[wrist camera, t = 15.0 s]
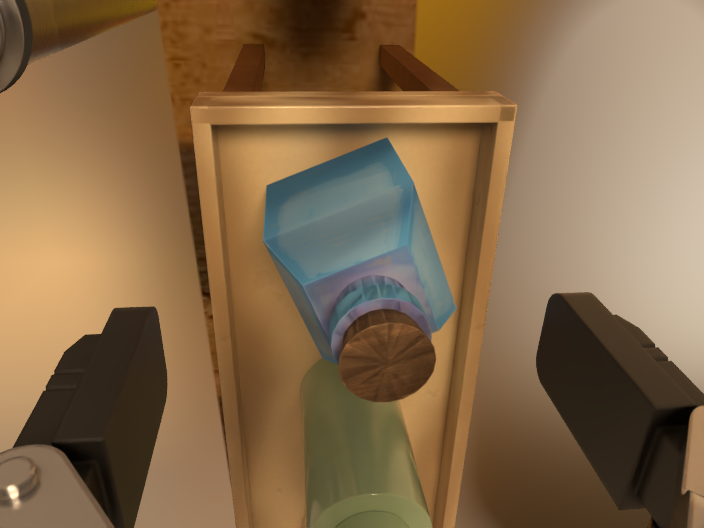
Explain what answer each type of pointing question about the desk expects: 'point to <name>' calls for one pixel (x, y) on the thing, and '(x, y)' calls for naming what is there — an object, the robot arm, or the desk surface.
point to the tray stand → (273, 296)
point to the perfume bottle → (361, 268)
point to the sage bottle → (356, 458)
